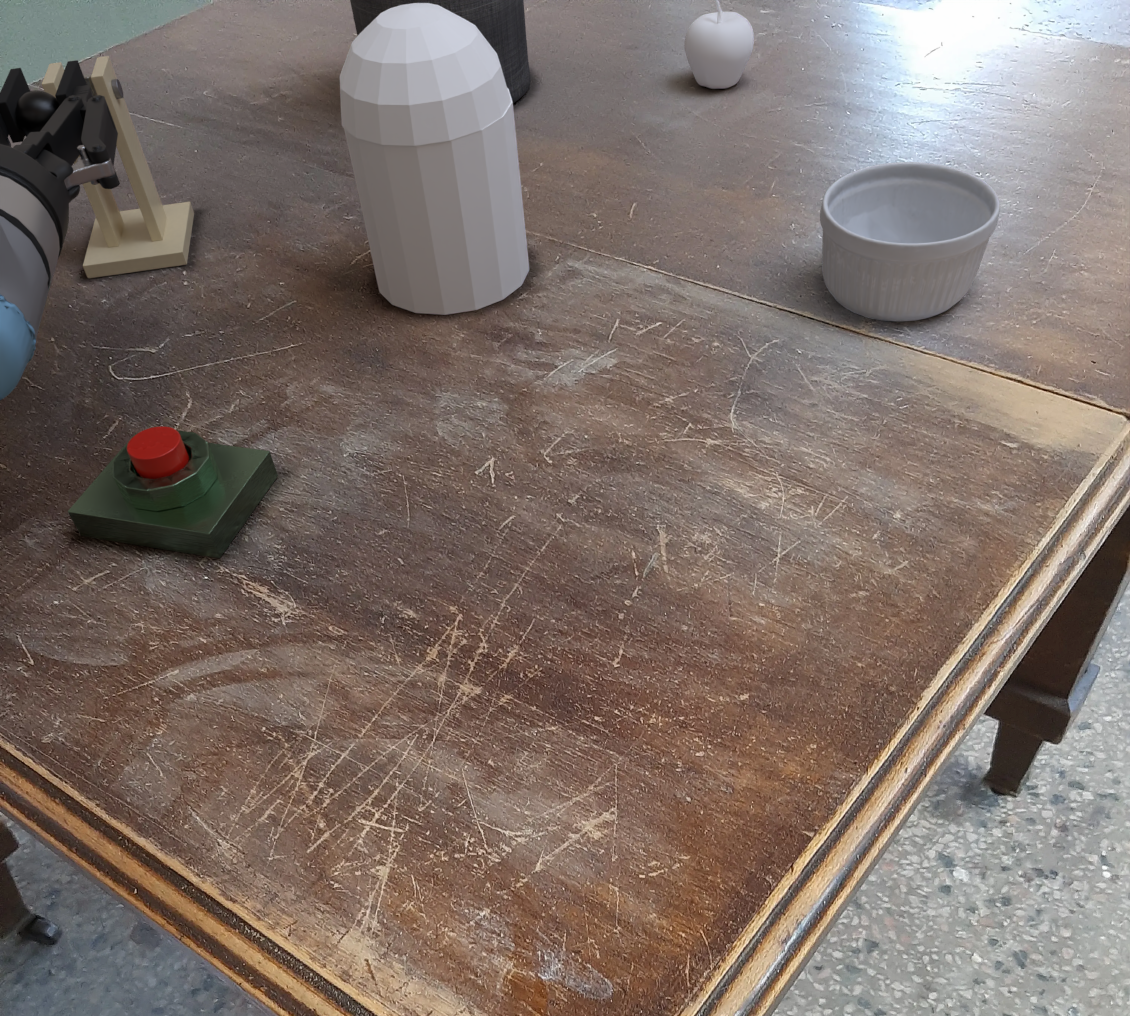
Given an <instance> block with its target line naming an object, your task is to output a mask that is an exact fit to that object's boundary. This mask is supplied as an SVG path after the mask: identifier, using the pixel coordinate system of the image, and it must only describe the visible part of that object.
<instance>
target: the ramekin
mask: <svg viewBox="0 0 1130 1016" xmlns="http://www.w3.org/2000/svg"><path fill="white" fill-rule="evenodd" d="M819 211H820V212H819V222H820V226H821V229H822V237H821V240H822V242H821V244H822V245H821V247H822V248H821V250H822V251H821V253H822V254H821V267H822V268H821V269H822V277H823V281H824V284H825V286H826V288H827V291H828V292H829V293H830V294H831V296H832V297H833V298H834V299H835V301H836V302H837V303H838V304H840V306H841V307H843V308H845V309H846V310H848V311H850V312H851V313H854V314H856V315H859V316H862V317H864V318H868V319H872V320H877V321H885V322H915V321H920V320H925V319H929V318H933V317H935V316H938V315H940V314H943V313H945V312H946V311H948V310H950V309H951V308H952V307H954V306H955V305H956V304H957V303H958V302H960V301H961V300H962V299H964V297H965V296H966V295H967V293H968V292H969V291H970V289H971V287H972V286H973V283H974V281H975V279H976V277H977V275H978V271H979V269H980V266H981V263H982V261H983V258H984V255H985V252H986V250H987V246H988V243H989V240H990V238H991V237H992V235H993V234H994V232H995V231H996V228H997V226H998V222H999V217H1000V212H1001V200H1000V197H999V194H998V193H997V192H996V190H995V189H994V188H993V187H992V186H991V185H990V184H989V183H987V182H986V181H985V180H984V179H982V178H981V177H978V176H976V175H974V174H972V173H970V172H967V171H965V170H962V169H959V168H955V167H952V166H948V165H944V164H938V163H929V162H919V161H902V162H901V161H900V162H897V161H896V162H887V163H880V164H875V165H870V166H865V167H862V168H859V169H855V170H853V171H851V172H849V173H847V174H845V175H843V176H841V177H840V178H838V179H836V180H835V181H834V182H833V183H831V184H830V185H829V187H828V188H827V189H826V191H825V193H824V195H823V196H822V199H821V206H820V210H819Z"/></svg>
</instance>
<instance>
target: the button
mask: <svg viewBox="0 0 1130 1016" xmlns="http://www.w3.org/2000/svg"><path fill="white" fill-rule="evenodd" d="M177 430H178V429H176V428H173V427H171V426H165V425H164V426H161V425H160V426H152V427H149V428H145V429H143V430H141V431H139V432H137V433H138V434H136V435H135V436H134V437H132V436H131V437H132V438H131V437H130V438H131V439H130V438H129V440H130V441H129V440H128V441H129V442H128V441H127V442H128V445H127V452H128V454H129V456H130V459H131V461H132V463H133V465H134V467H135V469H136V471H137V473H138V474H139V475H140V476H141V477H143V478H148V479H156V478H161V477H166V476H170V475H172V474H173V473H175V472H177V471H179V470H181V469H183V468H184V467H185V466H186V464H187V463H188V461H189V455H188V453H187V450H186V448H185V445H184V443H183V441H182V438H181V436H180V434H179V432H178V431H177Z"/></svg>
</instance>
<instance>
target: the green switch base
mask: <svg viewBox="0 0 1130 1016" xmlns="http://www.w3.org/2000/svg"><path fill="white" fill-rule="evenodd" d="M176 430H177V431H178V432H179V434H180V436H181V438H182V441H183V443H184V445H185V448H186V450H187V453H188V455H189V461H188V463H187V464H186V466H185V467H184V468H183V469H181V470H179V471H177V472H175V473H173V474H172V475H170V476H166V477H161V478H156V479H148V478H143V477H141V476H140V475H139V474H138V473H137V471H136V469H135V467H134V465H133V463H132V461H131V459H130V456H129V454H128V452H127V445H128V442H129V441H130V439H131V438H132V437H134V436H135V435H136V434H138V433H139V432H135V433H134V434H133V435H132V436H131V437H130V438H129V439H128V441H127V442H126V443H125V444H124V445H123V446H122V447H121V448H120V449H119V451H118V452H117V453H116V455H115V456H113V458H112V459H111V460H110V461H109V463H108V464H107V465H106V466H105V467H104V468H103V469H102V471H101V472H99V474H98V475H97V476H96V478H95V479H94V480H93V481H92V482H91V483H90V484H89V486H88V487H87V488H86V489H85V491H83V492H82V494H81V495H80V496H79V497H78V499H77V500H76V501H75V502H74V503H73V504H72V505H71V507H69V509H68V510H67V513H68V515H69V517H70V519H71V520H72V523H73V524H74V526H75V528H76V530H77V532H78V533H79V535H80V537H84V538H89V539H90V538H91V539H97V540H104V541H108V542H109V541H110V542H116V543H123V544H128V545H134V546H141V547H147V548H153V549H159V550H165V551H172V552H177V553H184V554H188V555H189V554H190V555H196V556H203V557H207V558H208V557H209V558H215V559H221V558H222V557H223V555H224V554H225V552H226V550H227V549H228V548H229V546H230V545H231V543H232V542H233V540H235V538H236V536H237V535H238V533H239V532H240V531H241V529H242V528H243V527H244V526H245V524H246V522H247V521H248V519H249V518H250V517H251V515H252V514H253V512H254V511H255V510H256V508H257V507H258V505H259V504H260V502H261V501H262V500H263V498H264V497H265V496H266V494H267V493H268V491H269V490H270V488H271V487H272V486H273V484H274V483H275V482H276V480H277V479H278V477H279V474H278V471H277V469H276V468H277V467H276V466H275V463H274V459H273V457H272V454H271V451H270V450H266V449H265V450H264V449H258V448H250V447H243V446H236V445H227V444H221V443H215V442H214V443H213V442H208V441H207V440H206V439H204V438H203V437H201V436H200V435H199V434H198V433H197V432H194V431H186V430H179V429H176Z"/></svg>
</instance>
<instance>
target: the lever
mask: <svg viewBox="0 0 1130 1016" xmlns="http://www.w3.org/2000/svg"><path fill="white" fill-rule="evenodd" d="M91 75H92V73H85V74H83V76H84V78H85V81H86V84H87V85H88V86H89V87H90V89H91V92H92V95H93V96H96V95H97V93H96V91H95V88H94V85H93V83H92V80H91ZM58 108H59V104H58V101H57V99H56V98H55V97H54V96H53V95H51V94H49V93H47V92H45V91H44V90H38V89H37V90H36V89H35V90H30V91H29V92H27V93H25V94H24V95H22V96H21V97H20V99H19V100H18V102H17V105H16V111H15V114H16V120H17V123H18V126H19V128H20V129H21V131H22V132H23V134H24V135H25V138H26V137H27V136H28V134H29V133H30V132H40V131H41V130H42V128H43V127H44V126H45V124H46V123H47V122H48V121H49V119H50V118H51V117H52V115H53V114H54V113H55V111H56V110H57V109H58Z"/></svg>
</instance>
